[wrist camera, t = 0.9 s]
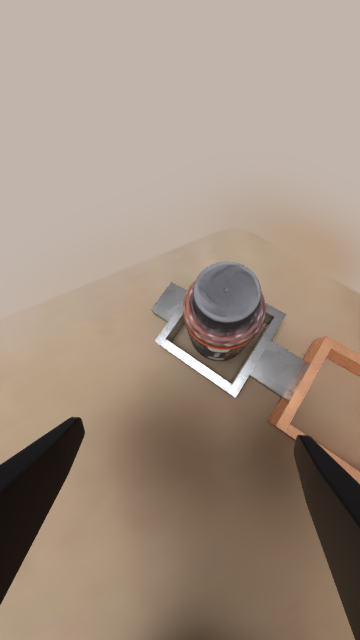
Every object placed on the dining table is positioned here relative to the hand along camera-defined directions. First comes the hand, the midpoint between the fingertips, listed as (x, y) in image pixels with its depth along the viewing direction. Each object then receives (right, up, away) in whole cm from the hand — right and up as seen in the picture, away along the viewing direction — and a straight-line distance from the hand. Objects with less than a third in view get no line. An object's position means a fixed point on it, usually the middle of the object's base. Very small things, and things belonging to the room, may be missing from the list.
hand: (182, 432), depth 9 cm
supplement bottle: (+4, +3, +15) cm, 15 cm away
